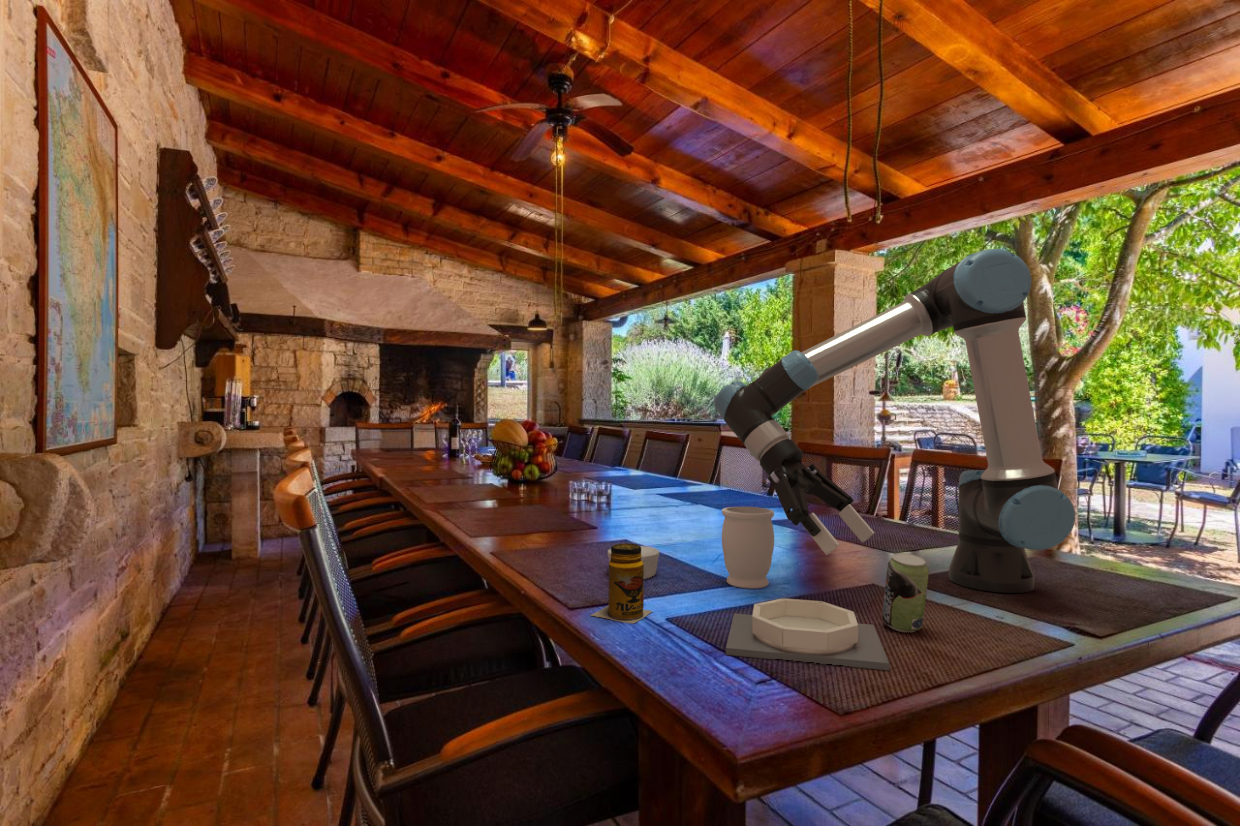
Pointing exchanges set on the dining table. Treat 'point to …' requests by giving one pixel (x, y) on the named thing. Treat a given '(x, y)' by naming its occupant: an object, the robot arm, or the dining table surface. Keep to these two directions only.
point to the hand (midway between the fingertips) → (851, 543)
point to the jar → (747, 545)
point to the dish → (805, 626)
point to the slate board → (860, 656)
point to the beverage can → (905, 592)
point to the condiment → (625, 585)
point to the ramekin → (647, 560)
